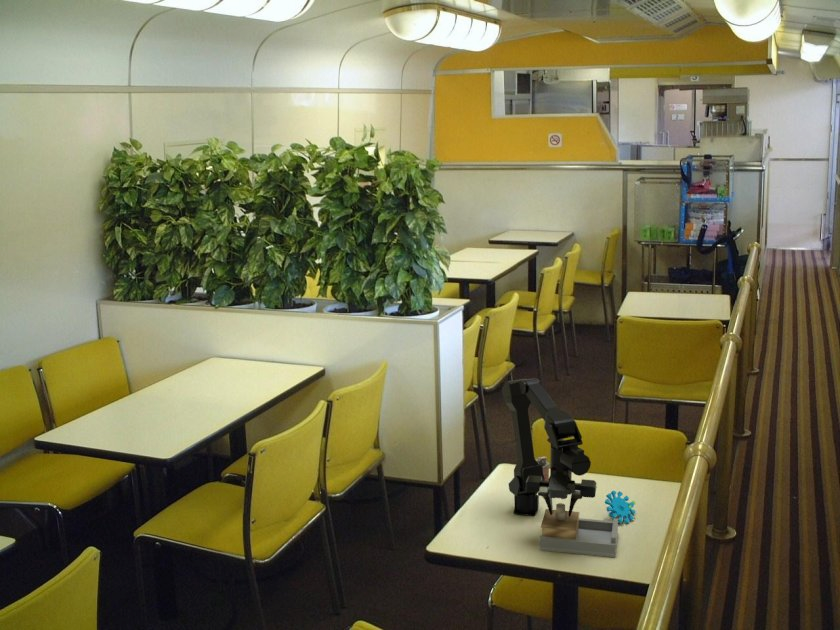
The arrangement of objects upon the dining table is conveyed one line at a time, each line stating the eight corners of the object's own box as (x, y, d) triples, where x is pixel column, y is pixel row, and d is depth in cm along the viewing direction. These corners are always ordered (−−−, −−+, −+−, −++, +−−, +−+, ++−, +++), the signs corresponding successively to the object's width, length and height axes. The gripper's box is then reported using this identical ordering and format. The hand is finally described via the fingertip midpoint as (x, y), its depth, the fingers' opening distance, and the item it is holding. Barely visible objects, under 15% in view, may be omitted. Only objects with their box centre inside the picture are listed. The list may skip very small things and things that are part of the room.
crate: (540, 542, 248) (541, 511, 246) (545, 525, 258) (545, 495, 256) (575, 545, 246) (576, 514, 244) (579, 528, 256) (579, 498, 253)
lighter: (543, 482, 290) (543, 452, 287) (551, 485, 287) (552, 455, 285) (527, 490, 284) (527, 460, 282) (535, 493, 282) (536, 463, 279)
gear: (616, 524, 257) (602, 491, 262) (604, 532, 261) (590, 500, 266) (644, 518, 263) (630, 487, 268) (632, 527, 267) (618, 495, 272)
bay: (539, 549, 247) (539, 532, 246) (545, 526, 260) (545, 510, 259) (615, 557, 242) (615, 539, 241) (617, 533, 255) (618, 516, 254)
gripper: (522, 471, 242) (522, 525, 245) (594, 476, 237) (593, 531, 241) (528, 455, 252) (528, 507, 256) (597, 460, 247) (595, 513, 251)
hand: (560, 515), depth 250 cm, fingers open, 5 cm apart
